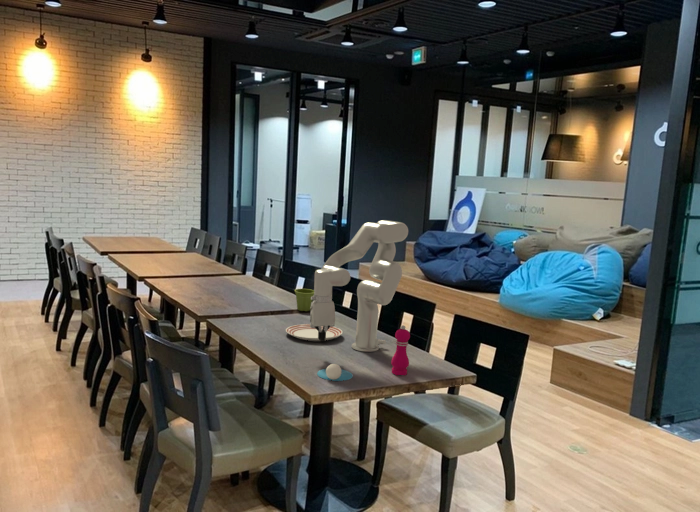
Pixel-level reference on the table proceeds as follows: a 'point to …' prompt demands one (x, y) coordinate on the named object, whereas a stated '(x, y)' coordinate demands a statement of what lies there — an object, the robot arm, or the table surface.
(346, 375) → the disc
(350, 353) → the table surface
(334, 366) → the ball
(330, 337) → the dinner plate
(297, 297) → the plant pot
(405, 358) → the pepper mill
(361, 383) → the table surface
